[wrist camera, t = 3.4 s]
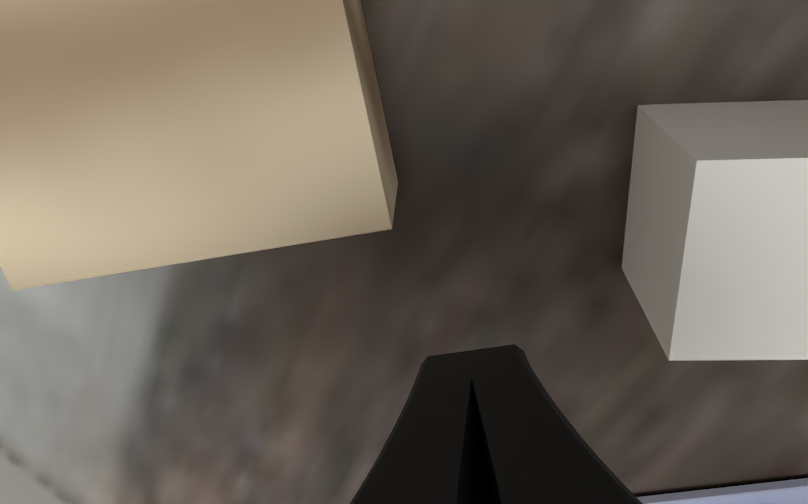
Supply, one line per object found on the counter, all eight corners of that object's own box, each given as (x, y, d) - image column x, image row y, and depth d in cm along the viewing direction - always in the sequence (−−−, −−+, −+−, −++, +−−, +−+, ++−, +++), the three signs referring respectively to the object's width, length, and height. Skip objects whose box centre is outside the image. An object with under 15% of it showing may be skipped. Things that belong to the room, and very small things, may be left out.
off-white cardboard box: (620, 269, 19) (851, 266, 18) (669, 367, 15) (969, 365, 14) (636, 99, 17) (895, 91, 16) (699, 156, 13) (1048, 148, 12)
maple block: (398, 182, 18) (392, 229, 15) (72, 237, 19) (11, 290, 16) (313, -231, 14) (284, -269, 11) (-87, -135, 15) (-201, -148, 12)
